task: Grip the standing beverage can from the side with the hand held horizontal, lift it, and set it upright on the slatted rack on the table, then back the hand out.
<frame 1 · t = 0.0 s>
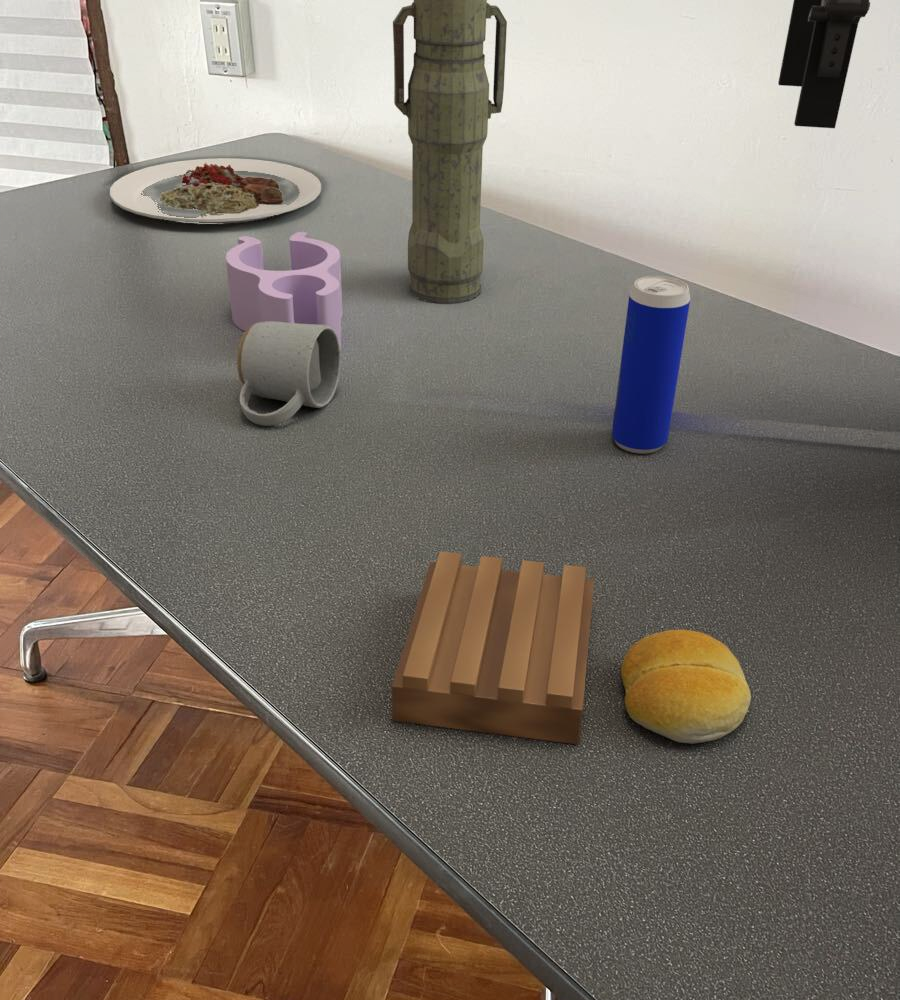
hand: (804, 105, 81), 30 cm above the table, tool pointing down, fingers open, 13 cm apart
rack: (497, 663, 74), on the table
ceramic mug: (288, 405, 105), on the table
bread roll: (679, 701, 72), on the table
plated food: (218, 201, 156), on the table
olive green vase: (444, 291, 130), on the table
beverage can: (638, 444, 100), on the table
clip: (292, 326, 120), on the table
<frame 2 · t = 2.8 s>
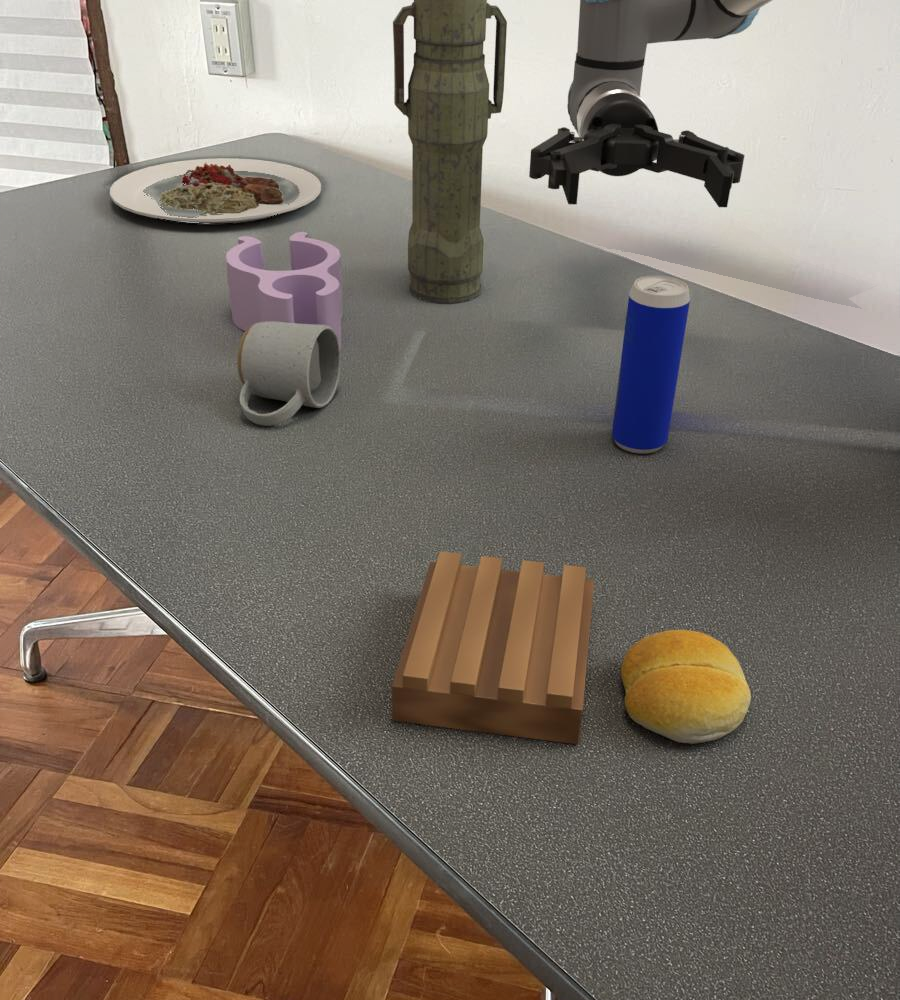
hand: (650, 190, 96), 20 cm above the table, tool horizontal, fingers open, 13 cm apart
nothing on the table moved.
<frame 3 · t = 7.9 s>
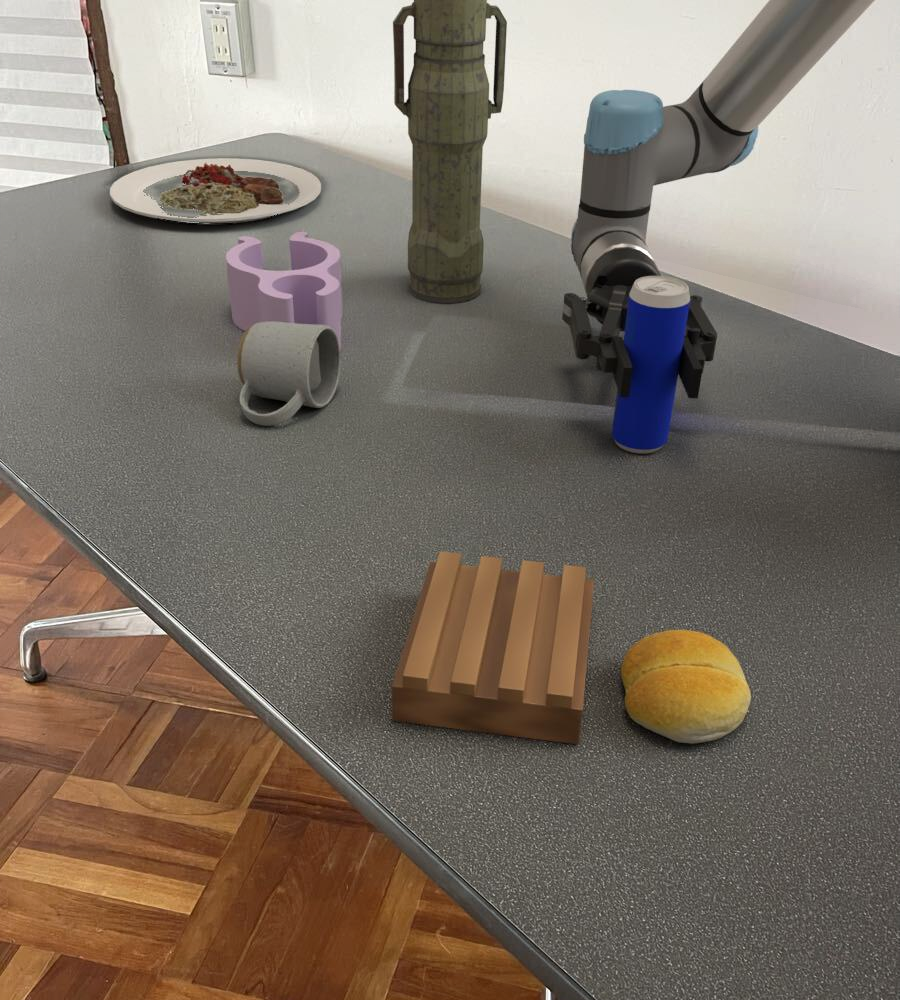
hand: (661, 383, 91), 8 cm above the table, tool horizontal, fingers closed on beverage can, 5 cm apart
beverage can: (638, 444, 100), on the table, touching gripper
everything else where it was.
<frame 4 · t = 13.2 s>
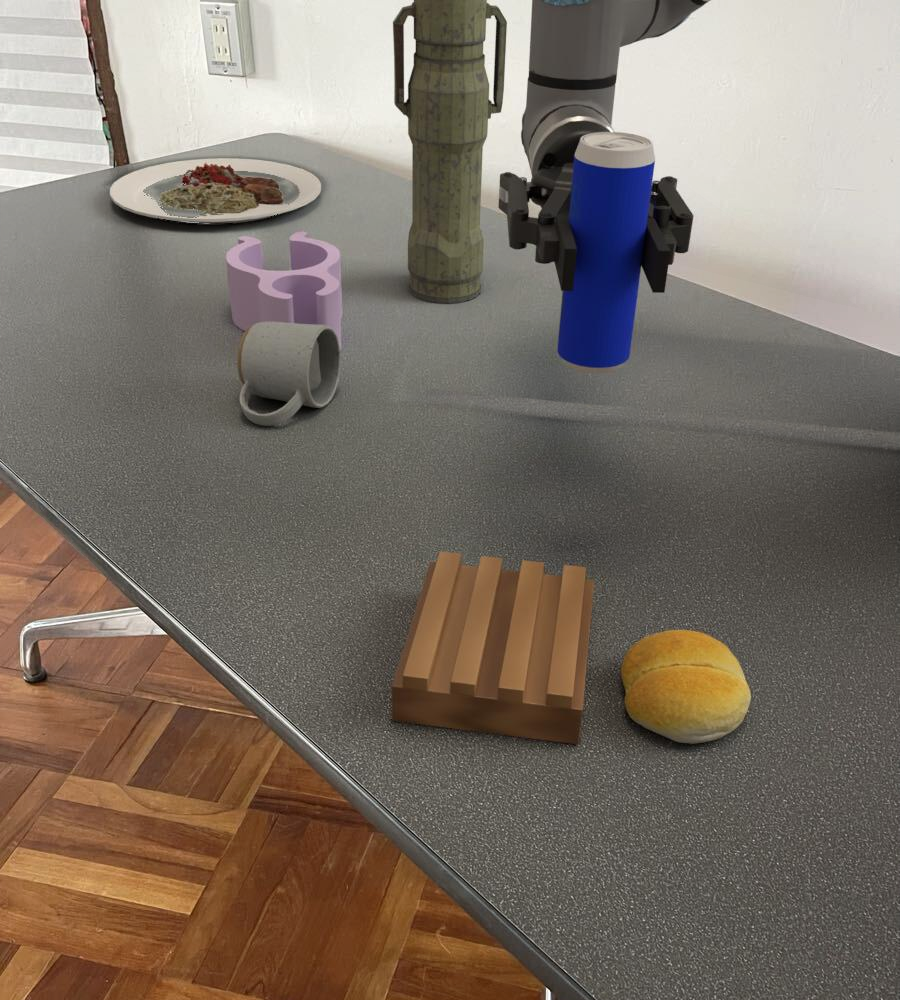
hand: (615, 270, 68), 24 cm above the table, tool horizontal, fingers closed on beverage can, 5 cm apart
beverage can: (592, 363, 77), point 15 cm above the table, touching gripper
everything else where it was.
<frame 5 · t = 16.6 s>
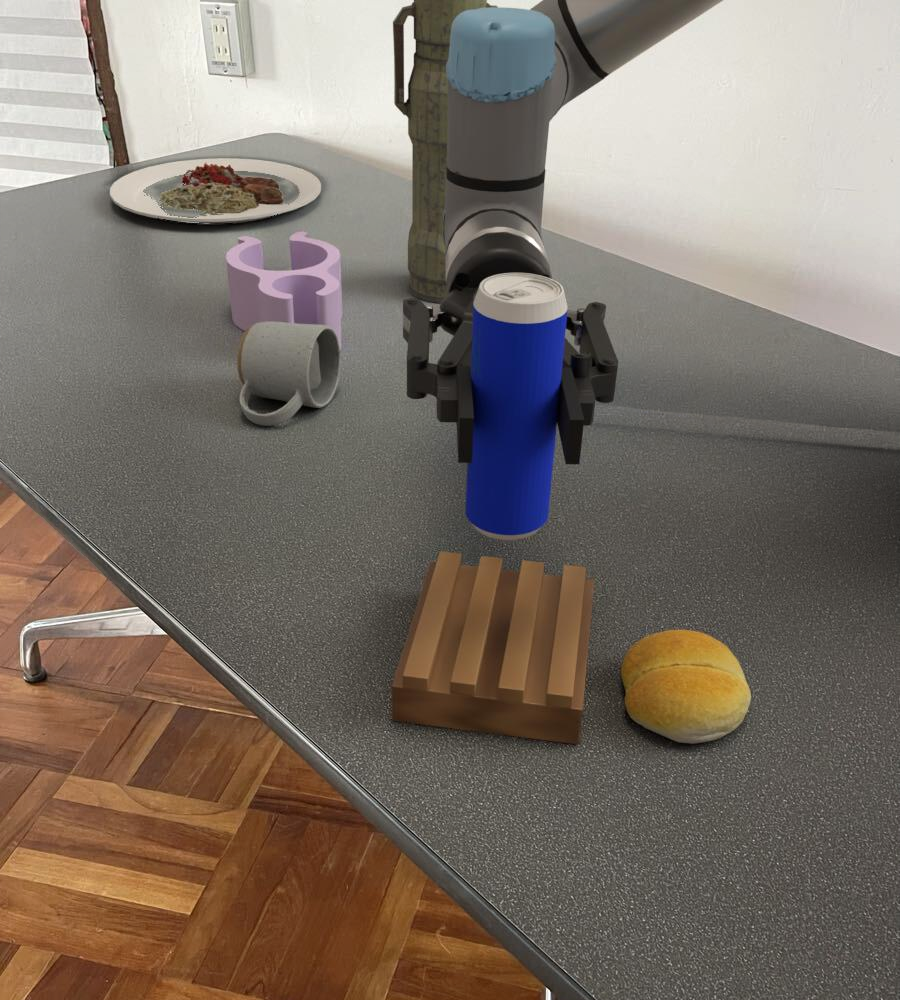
hand: (520, 441, 58), 20 cm above the table, tool horizontal, fingers closed on beverage can, 5 cm apart
beverage can: (506, 523, 67), point 11 cm above the table, touching gripper
everything else where it was.
when the fingers open (12 cm above the table, at t = 19.0 s): beverage can stays where it is, resting on rack.
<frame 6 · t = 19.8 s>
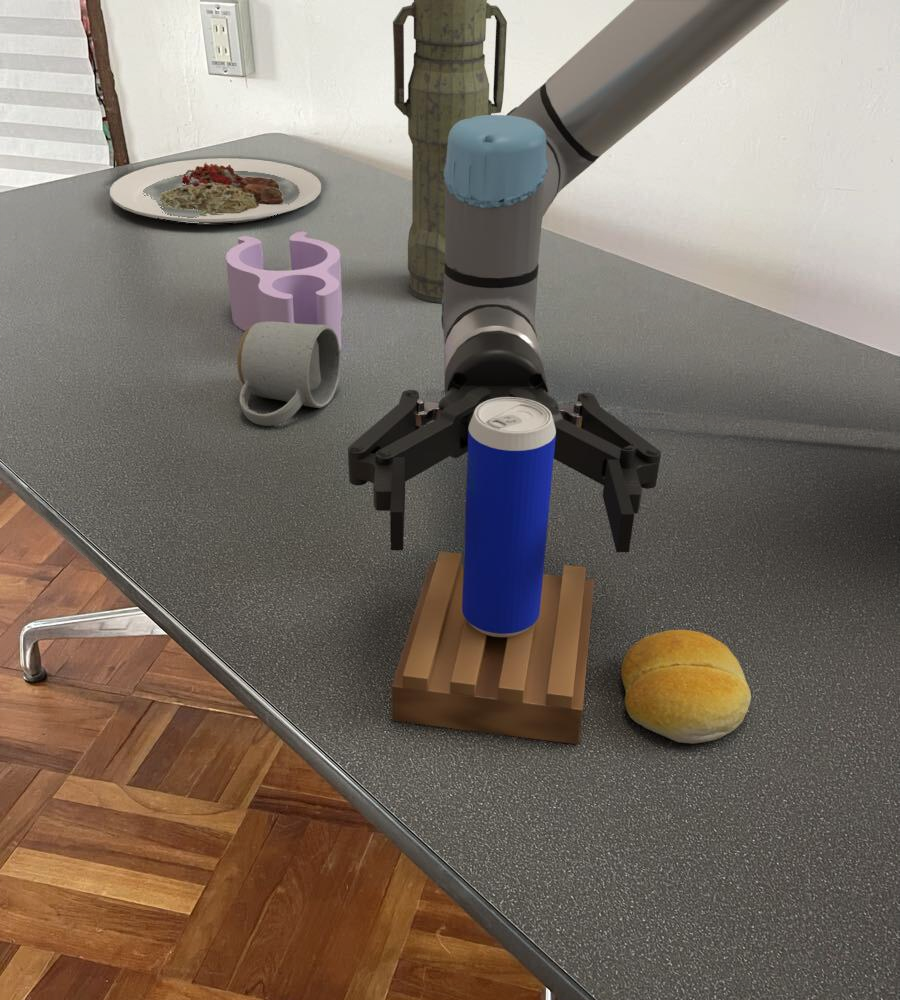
hand: (511, 533, 64), 13 cm above the table, tool horizontal, fingers open, 13 cm apart
beverage can: (500, 619, 72), point 4 cm above the table, touching rack
everything else where it was.
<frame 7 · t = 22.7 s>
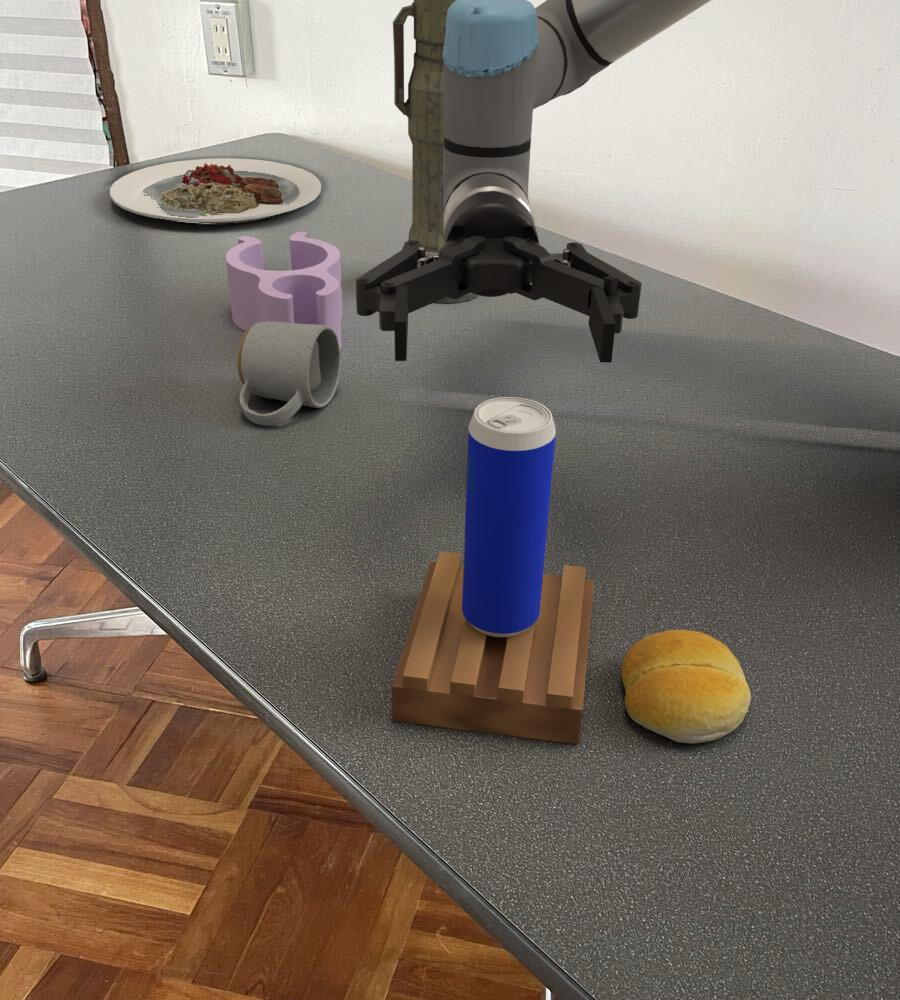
hand: (504, 342, 70), 19 cm above the table, tool horizontal, fingers open, 13 cm apart
nothing on the table moved.
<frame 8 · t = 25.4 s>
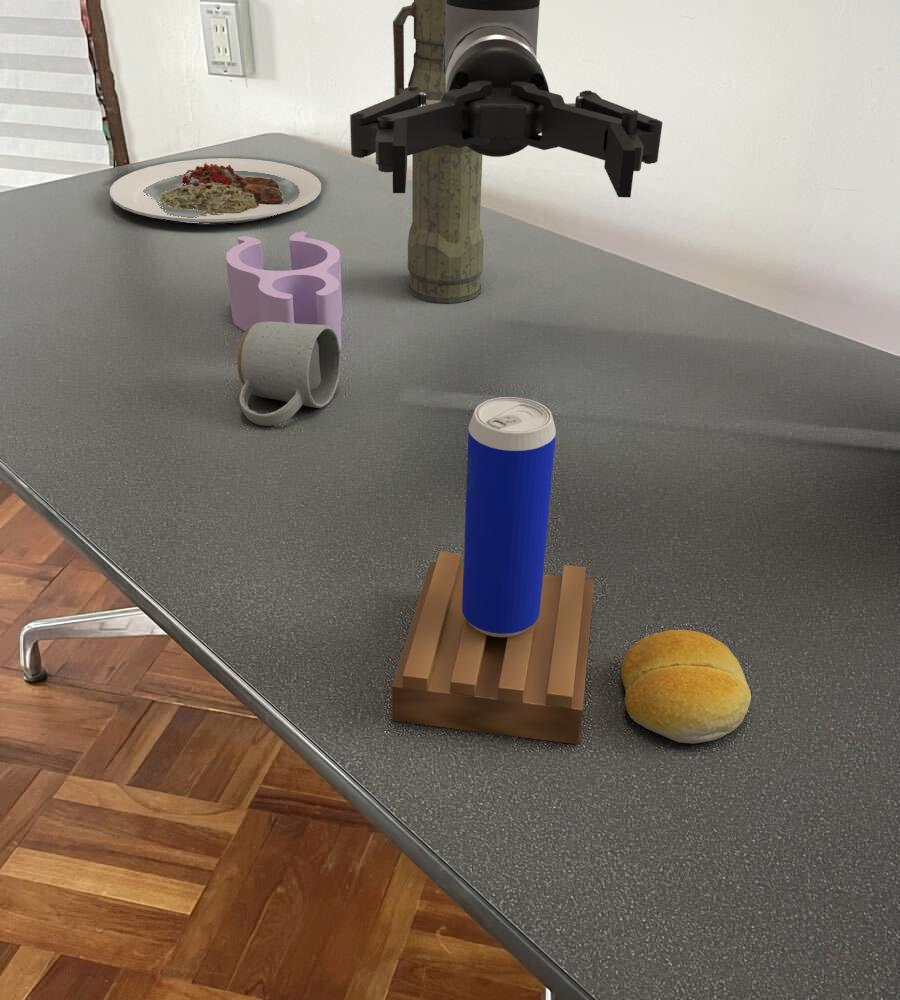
hand: (513, 172, 64), 30 cm above the table, tool horizontal, fingers open, 13 cm apart
nothing on the table moved.
at the end: beverage can inside the target area on the rack (0.0 cm from its centre), point 3.8 cm above the rack's base; beverage can tilted 0°; the gripper is holding nothing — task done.
